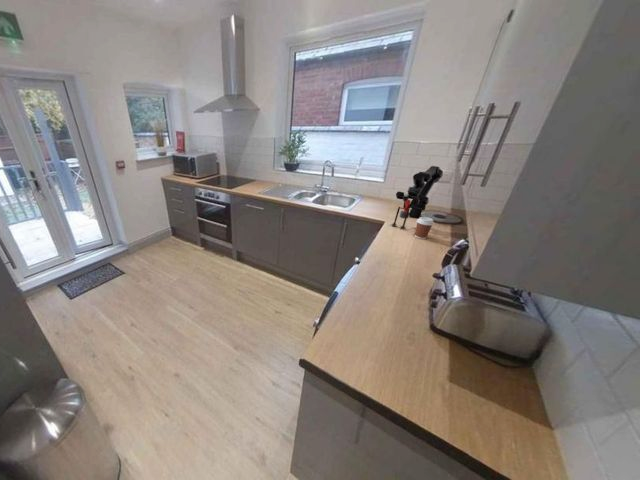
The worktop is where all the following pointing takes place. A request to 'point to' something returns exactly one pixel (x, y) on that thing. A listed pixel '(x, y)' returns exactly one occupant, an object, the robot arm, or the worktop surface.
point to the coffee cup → (423, 227)
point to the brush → (403, 213)
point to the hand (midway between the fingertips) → (405, 208)
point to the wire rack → (397, 216)
